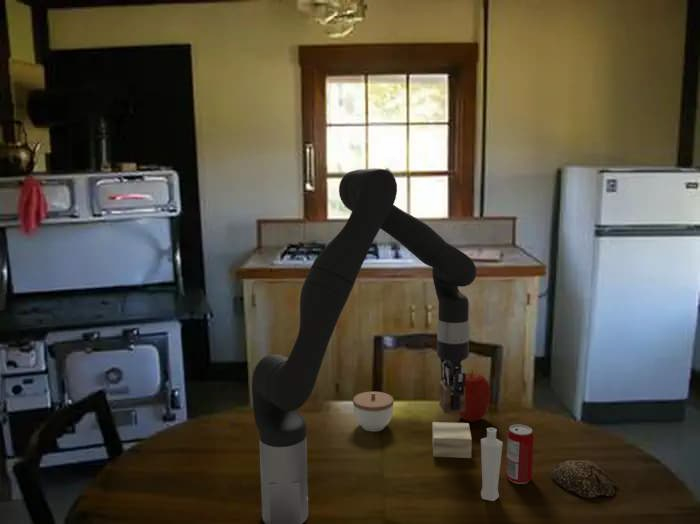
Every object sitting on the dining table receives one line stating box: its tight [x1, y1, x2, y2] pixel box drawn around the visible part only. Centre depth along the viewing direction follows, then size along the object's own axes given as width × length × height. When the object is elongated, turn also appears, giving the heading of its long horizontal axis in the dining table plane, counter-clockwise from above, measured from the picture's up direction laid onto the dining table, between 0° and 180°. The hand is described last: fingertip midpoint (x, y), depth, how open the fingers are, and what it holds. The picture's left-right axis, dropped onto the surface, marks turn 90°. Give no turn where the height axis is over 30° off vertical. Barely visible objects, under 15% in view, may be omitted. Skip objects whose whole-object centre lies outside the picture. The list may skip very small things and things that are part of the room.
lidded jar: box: [352, 391, 395, 432], centre depth 168 cm, size 11×11×9 cm
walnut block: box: [439, 381, 466, 414], centre depth 153 cm, size 5×5×6 cm
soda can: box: [505, 423, 534, 485], centre depth 140 cm, size 6×6×12 cm
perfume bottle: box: [480, 427, 504, 502], centre depth 133 cm, size 5×4×15 cm
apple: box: [456, 370, 492, 423], centre depth 171 cm, size 10×10×14 cm
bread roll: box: [550, 459, 617, 499], centre depth 139 cm, size 13×12×5 cm
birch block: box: [431, 421, 473, 459], centre depth 155 cm, size 9×9×5 cm
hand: (451, 404), depth 154 cm, fingers closed on walnut block, 5 cm apart
